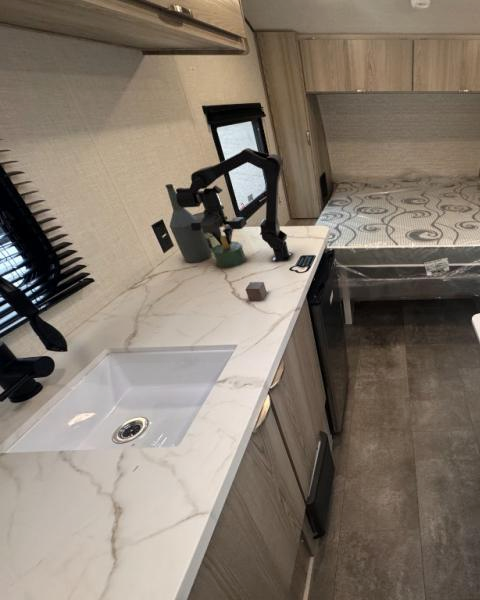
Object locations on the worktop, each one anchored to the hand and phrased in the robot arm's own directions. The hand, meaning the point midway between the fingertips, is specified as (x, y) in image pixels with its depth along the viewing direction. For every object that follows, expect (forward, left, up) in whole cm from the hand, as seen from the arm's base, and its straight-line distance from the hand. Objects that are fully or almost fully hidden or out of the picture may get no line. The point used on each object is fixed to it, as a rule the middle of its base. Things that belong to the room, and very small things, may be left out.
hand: (226, 244), depth 128 cm
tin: (0, 0, -7) cm, 7 cm away
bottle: (-5, -16, -8) cm, 18 cm away
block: (+28, +20, -7) cm, 35 cm away
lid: (0, 0, -2) cm, 2 cm away
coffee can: (-17, -15, -8) cm, 24 cm away
